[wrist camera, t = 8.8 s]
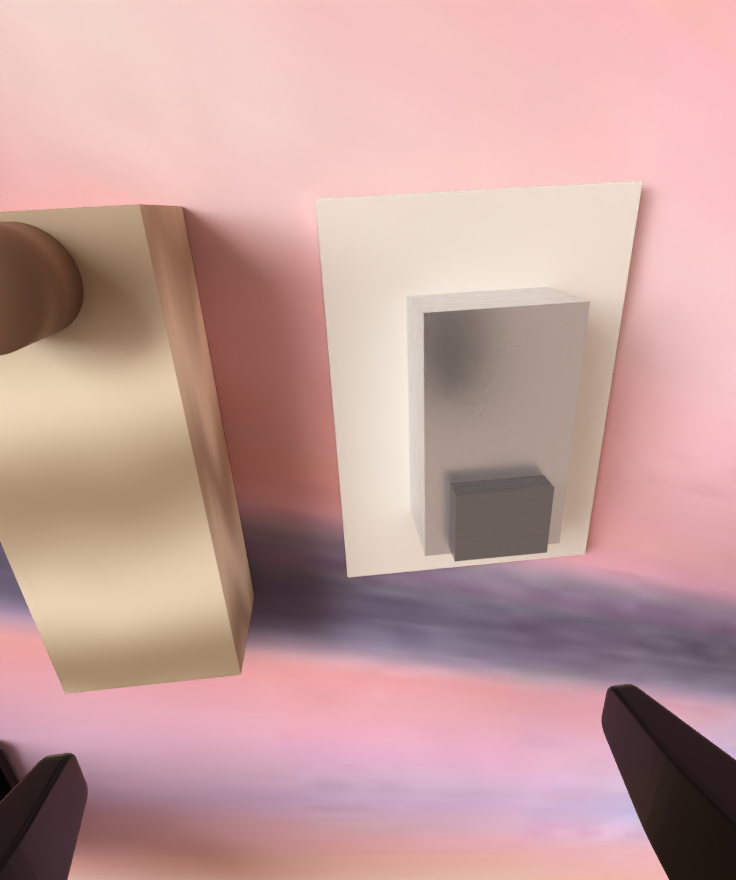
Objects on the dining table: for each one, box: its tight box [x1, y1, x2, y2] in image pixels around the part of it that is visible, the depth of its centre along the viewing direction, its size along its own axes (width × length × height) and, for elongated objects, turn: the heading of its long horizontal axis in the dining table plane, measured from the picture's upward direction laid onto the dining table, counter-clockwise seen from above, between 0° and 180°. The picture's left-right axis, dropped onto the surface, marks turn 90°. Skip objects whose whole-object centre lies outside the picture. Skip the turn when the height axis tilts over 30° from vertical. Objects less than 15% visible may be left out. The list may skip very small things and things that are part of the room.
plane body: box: [0, 205, 254, 694], centre depth 15 cm, size 15×6×6 cm, turn 3°
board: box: [315, 181, 643, 577], centre depth 18 cm, size 14×10×1 cm
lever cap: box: [406, 287, 590, 561], centre depth 16 cm, size 8×5×4 cm, turn 3°
